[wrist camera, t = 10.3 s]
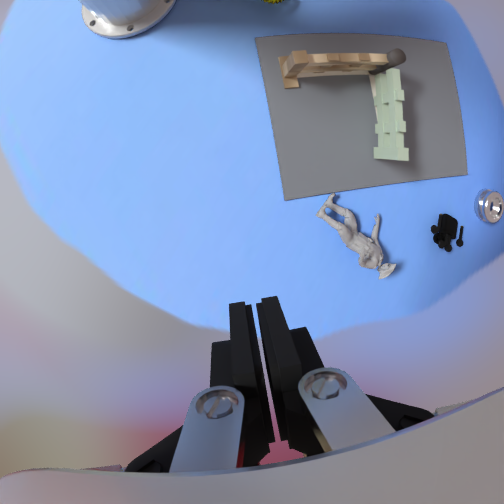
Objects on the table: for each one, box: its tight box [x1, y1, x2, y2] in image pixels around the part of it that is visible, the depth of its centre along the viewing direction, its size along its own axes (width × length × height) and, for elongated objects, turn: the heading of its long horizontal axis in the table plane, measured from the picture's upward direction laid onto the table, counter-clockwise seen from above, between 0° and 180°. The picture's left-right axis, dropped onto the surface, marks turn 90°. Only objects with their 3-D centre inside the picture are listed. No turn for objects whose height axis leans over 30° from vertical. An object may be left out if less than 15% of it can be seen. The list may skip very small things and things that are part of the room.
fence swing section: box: [374, 68, 409, 161], centre depth 31 cm, size 10×1×6 cm, turn 2°
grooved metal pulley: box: [474, 189, 504, 223], centre depth 38 cm, size 5×3×5 cm
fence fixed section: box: [278, 48, 406, 89], centre depth 29 cm, size 13×4×7 cm, turn 100°
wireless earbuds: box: [431, 214, 463, 252], centre depth 39 cm, size 7×2×5 cm
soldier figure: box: [316, 193, 396, 279], centre depth 37 cm, size 8×5×12 cm
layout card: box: [255, 33, 468, 200], centre depth 34 cm, size 20×28×1 cm
